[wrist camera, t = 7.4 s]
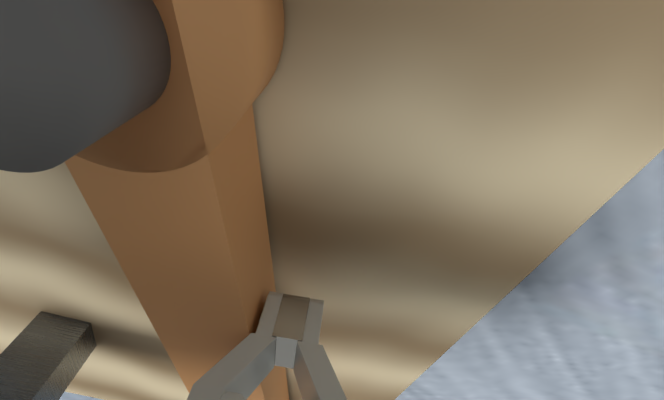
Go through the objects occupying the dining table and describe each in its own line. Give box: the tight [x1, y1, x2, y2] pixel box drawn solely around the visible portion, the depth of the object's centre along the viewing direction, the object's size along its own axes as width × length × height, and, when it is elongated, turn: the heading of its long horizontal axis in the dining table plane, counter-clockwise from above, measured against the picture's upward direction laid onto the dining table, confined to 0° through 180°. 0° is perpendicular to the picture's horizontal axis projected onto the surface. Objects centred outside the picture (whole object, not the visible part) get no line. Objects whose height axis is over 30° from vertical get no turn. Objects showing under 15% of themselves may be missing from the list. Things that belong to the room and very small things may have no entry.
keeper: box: [0, 311, 97, 400], centre depth 15 cm, size 3×12×8 cm, turn 72°
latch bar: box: [0, 0, 289, 400], centre depth 11 cm, size 24×5×5 cm, turn 179°
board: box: [0, 0, 664, 400], centre depth 15 cm, size 30×24×2 cm
